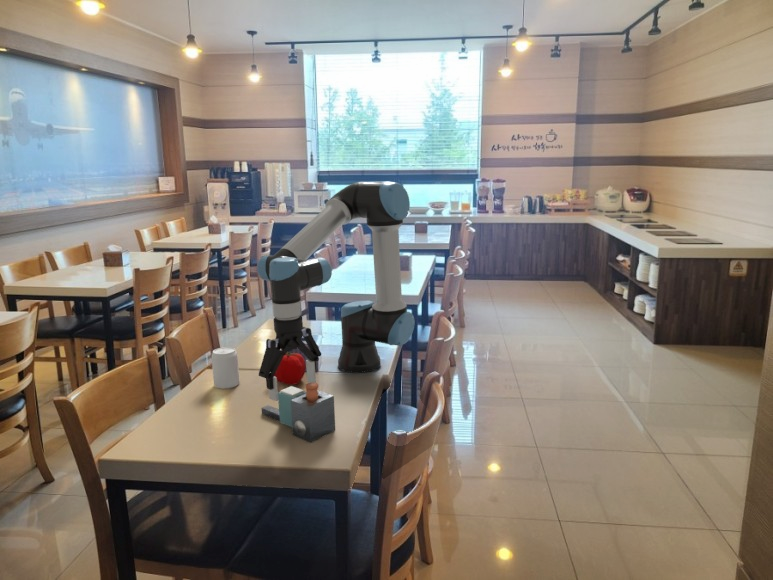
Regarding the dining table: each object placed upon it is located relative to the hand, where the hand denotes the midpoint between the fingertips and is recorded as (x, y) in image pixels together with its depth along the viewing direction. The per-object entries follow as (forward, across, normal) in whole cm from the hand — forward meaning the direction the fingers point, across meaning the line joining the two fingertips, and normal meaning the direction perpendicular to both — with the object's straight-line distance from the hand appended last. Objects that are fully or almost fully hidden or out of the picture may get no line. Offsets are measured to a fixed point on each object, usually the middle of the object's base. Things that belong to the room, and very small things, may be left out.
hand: (293, 390), depth 153 cm
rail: (+10, +1, -4) cm, 11 cm away
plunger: (+2, +1, +8) cm, 8 cm away
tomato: (+11, -20, -25) cm, 34 cm away
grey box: (+10, +1, +8) cm, 13 cm away
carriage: (+10, +1, 0) cm, 10 cm away
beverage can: (+10, -5, -40) cm, 41 cm away
